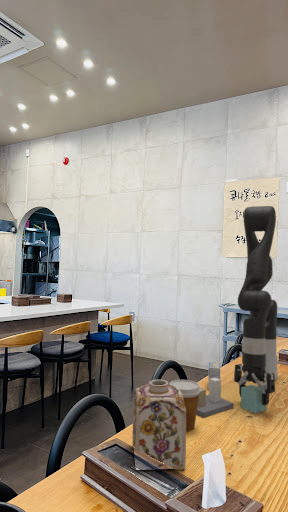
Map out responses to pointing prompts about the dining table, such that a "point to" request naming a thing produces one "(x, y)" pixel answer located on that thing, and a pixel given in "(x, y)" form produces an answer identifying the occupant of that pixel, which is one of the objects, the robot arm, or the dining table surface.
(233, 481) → the dining table surface
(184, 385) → the disposable coffee cup
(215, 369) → the medicine box
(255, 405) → the sage green cube
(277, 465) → the dining table surface
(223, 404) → the post stand
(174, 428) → the decorative jar
